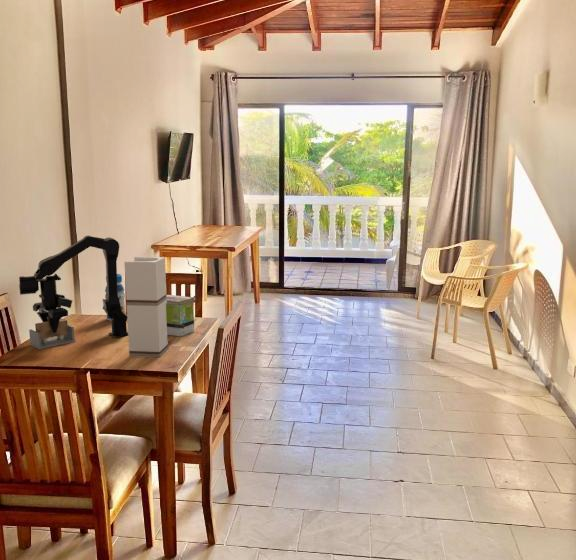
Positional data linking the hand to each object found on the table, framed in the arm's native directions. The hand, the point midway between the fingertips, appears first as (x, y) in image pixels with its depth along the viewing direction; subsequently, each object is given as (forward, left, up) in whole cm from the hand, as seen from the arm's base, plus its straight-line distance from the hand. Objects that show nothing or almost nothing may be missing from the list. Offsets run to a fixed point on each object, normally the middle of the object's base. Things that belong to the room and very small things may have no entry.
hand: (51, 331), depth 245 cm
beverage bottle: (+16, -36, -5) cm, 40 cm away
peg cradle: (0, 0, -5) cm, 5 cm away
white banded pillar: (-37, -20, -5) cm, 43 cm away
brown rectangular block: (0, 0, -2) cm, 2 cm away
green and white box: (-20, -42, -5) cm, 47 cm away
